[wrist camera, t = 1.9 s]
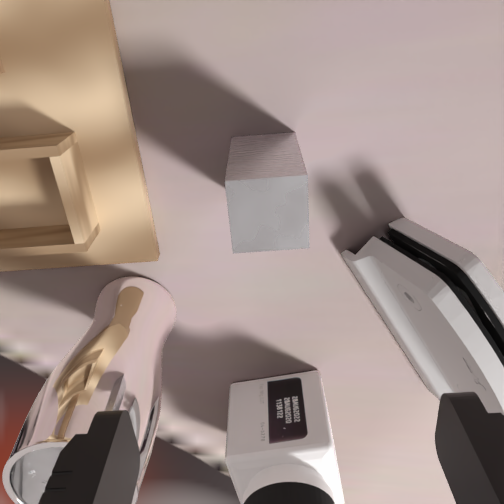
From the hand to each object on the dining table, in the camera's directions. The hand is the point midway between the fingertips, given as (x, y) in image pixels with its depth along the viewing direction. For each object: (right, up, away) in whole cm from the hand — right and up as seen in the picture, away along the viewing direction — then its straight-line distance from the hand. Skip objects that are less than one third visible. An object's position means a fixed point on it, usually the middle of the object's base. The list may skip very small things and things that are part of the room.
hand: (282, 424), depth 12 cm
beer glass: (-10, 0, +24) cm, 26 cm away
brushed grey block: (0, +10, +18) cm, 21 cm away
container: (+2, -9, +29) cm, 31 cm away
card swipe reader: (+13, 0, +24) cm, 27 cm away
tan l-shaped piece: (-16, +11, +18) cm, 26 cm away
